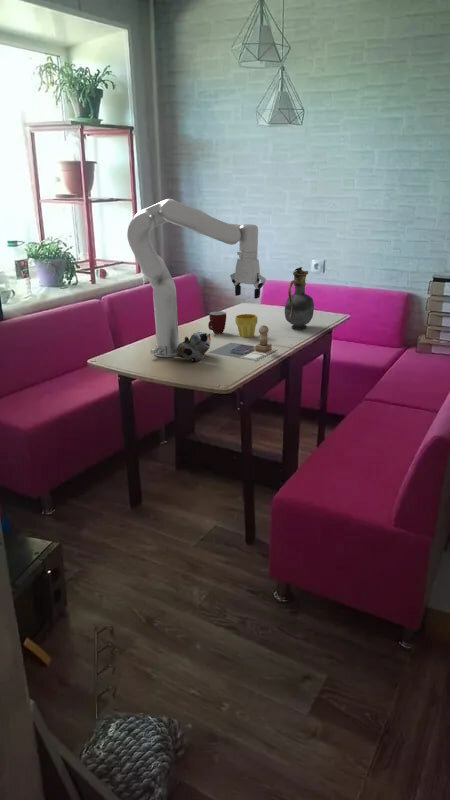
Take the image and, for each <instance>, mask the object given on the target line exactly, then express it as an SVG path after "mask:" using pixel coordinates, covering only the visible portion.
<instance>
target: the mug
mask: <svg viewBox="0 0 450 800" xmlns="http://www.w3.org/2000/svg"><path fill="white" fill-rule="evenodd" d="M226 324H227V312H226V311H220V310H219V311H217V310H216V311H211V312H209V321H208V329H209V331H212V333H214V335H215V334H221V335H223V333H224V331H225V328H226Z"/></svg>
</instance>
